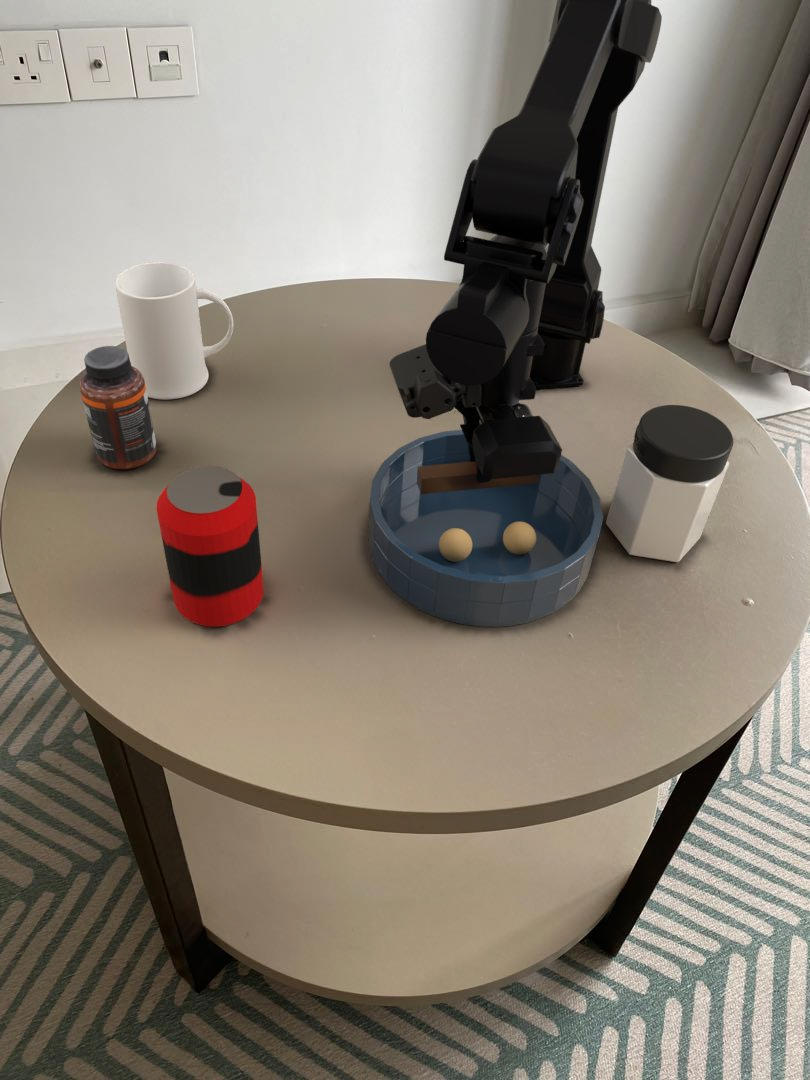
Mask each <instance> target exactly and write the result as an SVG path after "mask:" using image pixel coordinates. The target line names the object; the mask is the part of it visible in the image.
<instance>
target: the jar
mask: <svg viewBox="0 0 810 1080" xmlns="http://www.w3.org/2000/svg"><path fill="white" fill-rule="evenodd" d="M633 437H634V438H633V442H632V443H631V444H630V445H628V447H627V448H626V451H625V454H624V457H623V461H622V465H621V467H620V472H619V475H618V479H617V482H616V485H615V490H614V492H613V496H612V500H611V503H610V506H609V510H608V513H607V517H606V520H605V525H606V526H607V527H608V529H609V530H610V531H611V533H612V534H613V535H614V536H615V538H616V539H617V540H618V542H619V543H620V544H621V546H622V547H623V549H624V550H625V551H626V553H627V554H628V555H630V556H634V557H643V558H648V559H654V560H660V561H666V562H671V563H679V562H680V561H681V560H682V559H683V558H684V557H685V555H687V553H688V552H689V551H690V550H691V549H692V548H693V547H694V545H696V544H697V543H698V541H699V540H700V538H701V537H702V534H703V531H704V530H705V527H706V524H707V521H708V519H709V517H710V514H711V511H712V510H713V506H714V504H715V501H716V498H717V496H718V493H719V491H720V489H721V486H722V483H723V481H724V478H725V476H726V473H727V471H728V469H729V466H730V462H729V461H728V460H729V457H730V454H731V452H732V450H733V447H734V436H733V434H732V431H731V430H730V428H729V427H728V426H727V425H726V424H725V423H724V422H723V421H722V420H721V419H720V418H719V417H717V416H715V415H713V414H711V413H709V412H707V411H705V410H702V409H699V408H696V407H694V406H693V407H692V406H688V405H681V404H664V405H659V406H655V407H652V408H651V409H649V410H647V411H646V412H645V413H643V414H642V416H641V417H640V419H639V422H638V423H637V426H636V428H635V431H634V435H633Z"/></svg>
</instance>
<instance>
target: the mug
mask: <svg viewBox="0 0 810 1080" xmlns="http://www.w3.org/2000/svg"><path fill="white" fill-rule="evenodd" d="M114 289H115V293H116V299H117V304H118V309H119V314H120V320H121V325H122V330H123V336H124V342H125V347H126V351H127V352H128V354H129V359H130V362H131V366H133V367H135V368H136V369H138V370H139V371H140V372H141V374H142V375H143V378H144V381H145V386H146V391H147V396H148V399H149V398H150V399H154V400H161V401H162V400H164V401H165V400H177V399H183V398H186V397H189V396H191V395H194V394H195V393H197V392H199V391H201V389H203V388H204V387H205V386H206V384H207V383H208V381H209V378H210V377H209V374H210V373H209V370H208V368H207V365H206V358H207V357H210V356H214V355H215V354H217V353H219V352H220V351H221V350H224V348H225V347H226V346H227V345H228V343H229V342H230V340H231V338H232V336H233V333H234V327H235V325H234V317H233V314H232V311H231V309H230V307H229V306H228V304H227V303H226V302H225V301H224V300H223V299H222V298H221V297H220V296H218V294H216V293H214V292H212V291H210V290H207V289H204V288H201V287H198V286H197V285H196V278H195V275H194V273H193V272H192V271H191V270H190V269H189V268H187V267H185V266H182V265H180V264H177V263H171V262H162V261H161V262H160V261H157V262H156V261H154V262H146V263H145V262H144V263H140V264H136V265H133V266H132V265H131V266H130V267H128V268H126V269H124V270H122V271H120V272H119V274H117V275H116V276H115V279H114ZM199 300H207V301H210V302H213V303H215V304H216V305H218V306H219V307H220V308H221V309H222V310H223V311H224V312H225V314H226V316H227V319H228V329H227V332H226V334H225V336H224V337H223V338H222V339H221V340H220V341H219V342H216V343H215V344H213V345H208V346H207V345H205V346H204V344H203V336H202V327H201V320H200V318H201V317H200V311H199V302H198V301H199Z"/></svg>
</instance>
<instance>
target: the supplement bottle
mask: <svg viewBox="0 0 810 1080" xmlns="http://www.w3.org/2000/svg"><path fill="white" fill-rule="evenodd" d="M83 360H84V366H85V373H84V374H83V375H82V376H81V379H80V382H79V390H80V391H79V392H80V395H81V400H82V404H83V409H84V412H85V416H86V419H87V423H88V428H89V432H90V436H91V439H92V444H93V447H94V452H95V454H96V457H97V459H98V461H99V462H100V463H101V464H102V465H104V466H105V467H108V468H111V469H115V470H130V469H134V468H135V469H136V468H138V467H140V466H143V465H145V464H147V463H148V462H150V461H151V460H152V459H153V457H154V456H155V454H156V452H157V448H158V447H157V439H156V435H155V429H154V424H153V423H154V422H153V418H152V413H151V412H152V411H151V407H150V402H149V401H150V400H149V397H148V396H147V391H146V386H145V381H144V378H143V375H142V374H141V372H140V371H139V370H138V369H136V368H135V367H133V366H131V362H130V359H129V354H128V352H127V349H126V348H123V347H120V346H116V345H103V346H99V347H95V348H94V349H91V350H89V351H88V352H87V353H86V354H85V356H84V359H83Z"/></svg>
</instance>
